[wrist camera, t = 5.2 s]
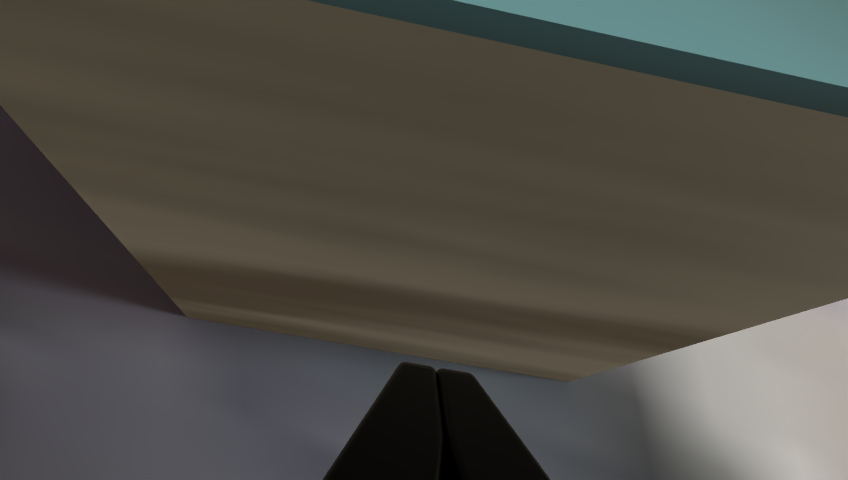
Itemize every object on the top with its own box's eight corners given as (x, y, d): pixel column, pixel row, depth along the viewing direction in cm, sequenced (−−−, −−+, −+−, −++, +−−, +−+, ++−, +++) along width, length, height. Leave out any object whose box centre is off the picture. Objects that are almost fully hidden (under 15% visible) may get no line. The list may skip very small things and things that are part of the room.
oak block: (568, 381, 17) (1253, 177, 5) (187, 317, 16) (-225, -151, 4) (583, 189, 18) (1123, -346, 6) (236, 121, 18) (63, -664, 5)
